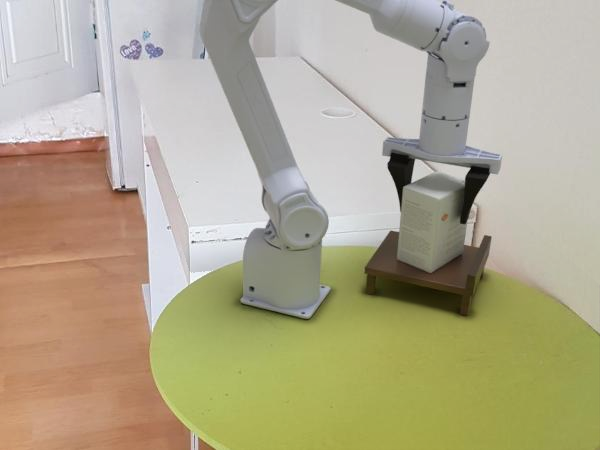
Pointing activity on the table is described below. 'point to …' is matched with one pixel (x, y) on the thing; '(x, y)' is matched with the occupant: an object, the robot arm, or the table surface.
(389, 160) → the robot arm
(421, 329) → the table surface
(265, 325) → the table surface
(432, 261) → the small box
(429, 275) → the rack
